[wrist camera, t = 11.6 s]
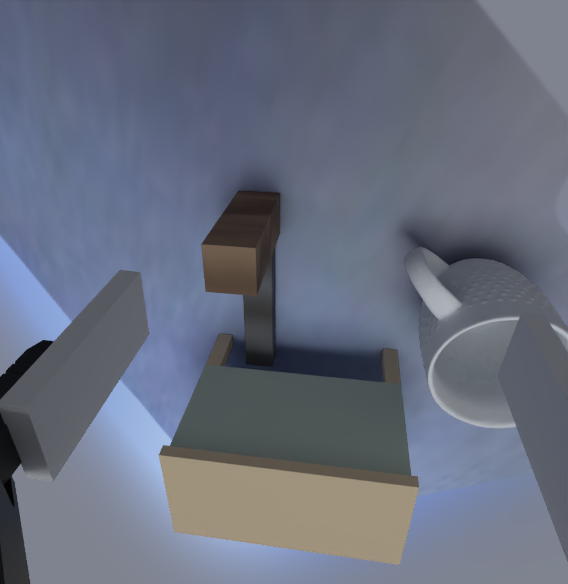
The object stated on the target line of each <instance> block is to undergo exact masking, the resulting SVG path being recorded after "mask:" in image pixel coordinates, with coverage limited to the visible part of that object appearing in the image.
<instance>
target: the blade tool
mask: <svg viewBox="0 0 568 584" xmlns="http://www.w3.org/2000/svg"><path fill="white" fill-rule="evenodd" d="M279 234H280V193H271V192H253V191H238V192H237V194H236V195H235V196H234V198H233V199H232V201H231V202H230V204H229V205H228V207H227V208H226V209H225V211H224V212H223V214H222V215H221V217H220V218H219V220H218V221H217V222H216V224H215V225H214V227H213V228H212V230H211V231H210V233H209V234H208V235H207V237H206V238H205V240H204V241H203V243H202V244H201V246H202V257H203V268H204V278H205V289H206V292H216V293H228V294H241V295H243V299H244V321H245V343H246V364H249V365H259V366H269V367H273V364H274V360H275V245H276V242H277V240H278V237H279Z"/></svg>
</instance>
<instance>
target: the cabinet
mask: <svg viewBox="0 0 568 584" xmlns="http://www.w3.org/2000/svg"><path fill="white" fill-rule="evenodd" d="M232 346H233V338H232V335H229V334H219V336H218V338H217V340H216V343H215V345H214V347H213V349H212V352H211V354H210V356H209V359H208V361H207V363H206V365H205V368H204V370H203V372H202V374H201V377H200V379H199V381H198V383H197V386H196V388H195V390H194V392H193V395H192V397H191V399H190V402H189V404H188V406H187V408H186V411H185V413H184V415H183V417H182V420H181V422H180V424H179V426H178V429H177V431H176V433H175V436H174V438H173V440H172V442H171V445H170V446H163V447H162V449H161V452H160V454H159V458H160V463H161V468H162V473H163V478H164V483H165V488H166V493H167V497H168V503H169V508H170V513H171V517H172V523H173V528H174V532H179V533H185V534H192V535H198V536H205V537H212V538H220V539H226V540H233V541H240V542H247V543H253V544H260V545H268V546H274V547H281V548H288V549H295V550H302V551H309V552H315V553H322V554H329V555H336V556H344V557H350V558H357V559H364V560H371V561H378V562H384V563H391V564H398V565H400V561H401V557H402V553H403V549H404V545H405V541H406V537H407V533H408V529H409V526H410V522H411V518H412V514H413V510H414V505H415V502H416V498H417V494H418V490H419V483H418V476H411V469H410V460H409V451H408V442H407V433H406V424H405V415H404V407H403V398H402V389H401V380H400V371H399V362H398V353H397V350H393V349H383V353H382V373H383V382H375V381H365V380H355V379H345V378H335V377H325V376H315V375H305V374H295V373H285V372H275V371H265V370H255V369H245V368H235V367H225V365H226V362H227V359H228V357H229V354H230V352H231V349H232Z"/></svg>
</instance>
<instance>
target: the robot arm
mask: <svg viewBox="0 0 568 584" xmlns="http://www.w3.org/2000/svg"><path fill="white" fill-rule="evenodd" d="M148 335H149V328H148V322H147V315H146V308H145V301H144V294H143V287H142V280H141V273H140V272H133V271H123V270H120V271H119V272H118V273H117V274H116V275H115V276H114V277H113V278H112V279H111V280H110V281H109V283H108V284H107V285H106V286H105V287H104V288H103V289H102V290H101V291H100V292H99V293H98V294H97V296H96V297H95V298H94V299H93V300H92V301H91V302H90V303H89V304H88V305H87V306H86V307H85V309H84V310H83V311H82V312H81V313H80V314H79V315H78V316H77V317H76V318H75V319H74V320H73V322H72V323H71V324H70V325H69V326H68V327H67V328H66V329H65V330H64V331H63V333H61V335H60V336H59V337H58V338H57V339H56V340H55V341H47V340H43V341H41V342H39V343H37V344H36V345H34V346H32V347H31V348H29V349H27V350H26V351H25V352H24V353H23V354H22V355H21V356H20V357H19V358H18V359H17V360H16V361H15V364H12V365H11V366H10V367H9V368H8V369H7V370H6V373H5V374H2V376H1V377H0V584H30V579H29V573H28V566H27V560H26V553H25V548H24V540H23V534H22V527H21V521H20V515H19V508H18V502H17V495H16V488H15V482H14V480H13V478H12V474H13V473H14V472H15V470H16V469H17V468H18V466H19V465H20V464H21V465H22V467H23V470H24V472H25V475H26V477H28V478H35V479H41V480H47V481H54V480H55V478H56V476H57V475H58V473H59V472H60V470H61V469H62V467H63V466H64V464H65V463H66V461H67V460H68V458H69V456H70V455H71V453H72V452H73V450H74V449H75V447H76V446H77V444H78V442H79V441H80V440H81V438H82V437H83V435H84V433H85V432H86V430H87V429H88V427H89V425H90V424H91V423H92V421H93V420H94V418H95V417H96V415H97V413H98V412H99V410H100V409H101V407H102V406H103V404H104V403H105V401H106V400H107V398H108V396H109V395H110V393H111V392H112V390H113V389H114V387H115V386H116V384H117V383H118V381H119V380H120V378H121V377H122V375H123V373H124V372H125V370H126V369H127V367H128V366H129V364H130V363H131V361H132V360H133V358H134V357H135V355H136V353H137V352H138V350H139V349H140V347H141V346H142V344H143V343H144V341H145V340H146V338H147V337H148ZM497 377H498V379H499V382H500V385H501V387H502V390H503V393H504V395H505V398H506V400H507V403H508V406H509V408H510V411H511V414H512V416H513V419H514V422H515V424H516V427H517V429H518V432H519V435H520V437H521V440H522V443H523V445H524V448H525V451H526V453H527V456H528V458H529V461H530V464H531V466H532V469H533V472H534V474H535V477H536V480H537V482H538V485H539V487H540V490H541V493H542V495H543V498H544V501H545V503H546V506H547V509H548V511H549V514H550V516H551V519H552V521H553V524H554V527H555V530H556V532H557V535H558V538H559V540H560V543H561V545H562V548H563V551H564V553H565V556H566V559H567V561H568V352H567V350H566V349H565V347H564V346H563V344H562V342H561V341H560V339H559V337H558V336H557V334H556V332H555V331H554V329H553V328H552V326H551V324H550V323H549V321H548V319H547V318H546V316H544V315H534V314H525V313H521V314H520V317H519V320H518V322H517V325H516V328H515V330H514V333H513V335H512V338H511V341H510V343H509V346H508V349H507V351H506V354H505V356H504V359H503V362H502V364H501V367H500V370H499V372H498V375H497Z"/></svg>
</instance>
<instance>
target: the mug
mask: <svg viewBox="0 0 568 584" xmlns="http://www.w3.org/2000/svg"><path fill="white" fill-rule="evenodd" d="M404 265H405V269H406V271H407V274H408V276H409V278H410V280H411V281H412V283H413V285H414V287H415V288H416V290H417V291H418V293H419V294H420V296H421V298H422V299H423V301H422V303H421V310H420V318H419V339H420V348H421V352H422V358H423V366H424V368H425V372H426V377H427V382H428V386H429V389H430V392H431V394H432V396H433V398H434V399H435V401H436V402H437V403H438V405H439V406H440V407H441V408H442V409H443V410H445V411H446V412H447V413H449V414H450V415H452V416H453V417H455V418H457V419H459V420H461V421H464V422H466V423H469V424H472V425H476V426H480V427H488V428H510V427H516V424H515V422H514V419H513V416H512V414H511V411H510V408H509V406H508V403H507V400H506V398H505V395H504V393H503V390H502V387H501V385H500V382H499V379H498V377H497V375H498V372H499V370H500V367H501V364H502V362H503V359H504V356H505V354H506V351H507V349H508V346H509V343H510V341H511V338H512V335H513V333H514V330H515V328H516V325H517V322H518V320H519V317H520V314H521V313H525V314H534V315H544V316H546V318H547V319H548V321H549V323H550V324H551V326H552V328H553V329H554V331H555V332H556V334H557V336H558V337H559V339H560V341H561V342H562V344H563V346H564V347H565V349H566V350H567V352H568V327H567V326H566V325H565V323H564V321H563V319H562V318H561V316H560V315H559V314H558V313H557V312H556V309H555V307H554V306H552V305H551V304H550V302H549V300H548V298H546V297H545V296H544V295H543V293H542V291H541V290H539V289H538V288H537V287H536V286H535V285H534V283H532V282H530V281H529V280H528V279H527V278H526V277H525V276H523V275H521V274H520V273H519V271H516V270H514V269H512V268H511V267H510V266H507V265H505V264H503V263H499V262H497V261H495V260H488V259H479V258H474V259H465V260H461V261H458V262H455V263H453V264H451V265H448V264H447V263H445V262H444V261H443V260H441V259H440V258H439V257H438V256H437V255H435V254H434V253H432V252H431V251H429V250H428V249H426V248H424V247H417V248H414V249H413V250H411V251H410V252H409V253H408V254H407V255H406V256H405V258H404Z"/></svg>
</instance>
